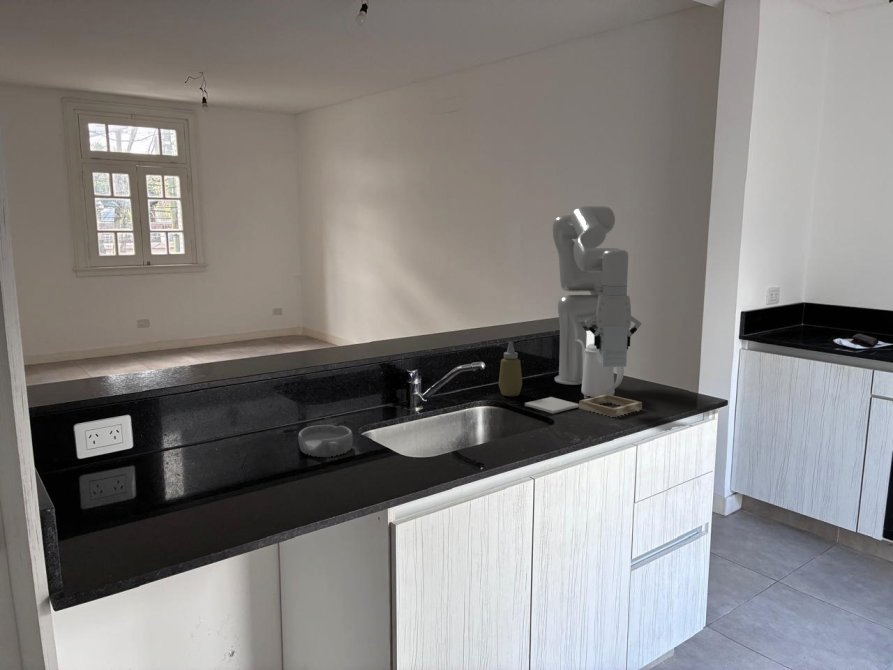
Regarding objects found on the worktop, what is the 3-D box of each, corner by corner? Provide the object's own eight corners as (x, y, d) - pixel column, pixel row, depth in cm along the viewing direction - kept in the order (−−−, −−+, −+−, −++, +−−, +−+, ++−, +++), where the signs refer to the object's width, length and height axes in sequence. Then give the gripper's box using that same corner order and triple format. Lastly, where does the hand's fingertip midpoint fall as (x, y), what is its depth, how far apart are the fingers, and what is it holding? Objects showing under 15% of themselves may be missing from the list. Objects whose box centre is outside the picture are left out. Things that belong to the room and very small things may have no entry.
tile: (551, 399, 218) (551, 396, 218) (579, 406, 209) (579, 404, 209) (524, 405, 211) (524, 403, 211) (553, 413, 201) (553, 410, 201)
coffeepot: (587, 384, 238) (588, 332, 235) (634, 400, 216) (636, 343, 213) (562, 388, 233) (563, 335, 230) (607, 404, 211) (609, 346, 208)
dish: (342, 461, 162) (341, 441, 161) (289, 457, 165) (288, 438, 164) (361, 442, 176) (361, 424, 175) (312, 439, 179) (311, 421, 178)
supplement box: (619, 361, 207) (621, 321, 205) (626, 367, 200) (628, 325, 198) (596, 362, 207) (597, 322, 205) (602, 367, 200) (603, 325, 198)
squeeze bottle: (496, 396, 222) (496, 343, 219) (501, 391, 229) (501, 339, 227) (519, 398, 220) (520, 344, 217) (524, 392, 227) (525, 340, 224)
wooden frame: (606, 401, 215) (606, 394, 214) (641, 410, 204) (641, 402, 204) (578, 408, 207) (579, 400, 206) (614, 417, 196) (614, 409, 196)
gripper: (585, 292, 197) (583, 350, 200) (645, 292, 195) (643, 351, 198) (583, 289, 205) (581, 345, 207) (641, 290, 202) (639, 346, 205)
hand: (611, 348), depth 203 cm, fingers closed on supplement box, 8 cm apart
